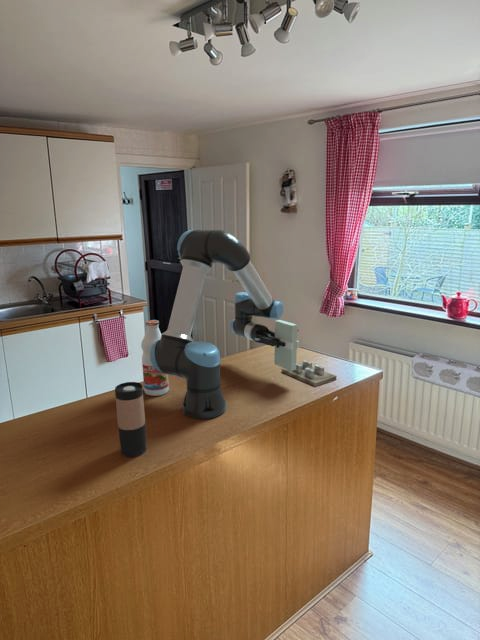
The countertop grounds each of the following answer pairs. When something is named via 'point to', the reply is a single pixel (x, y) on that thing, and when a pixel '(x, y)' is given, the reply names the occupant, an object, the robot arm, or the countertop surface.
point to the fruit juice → (153, 378)
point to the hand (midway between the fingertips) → (295, 345)
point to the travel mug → (131, 418)
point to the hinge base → (310, 374)
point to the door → (284, 355)
